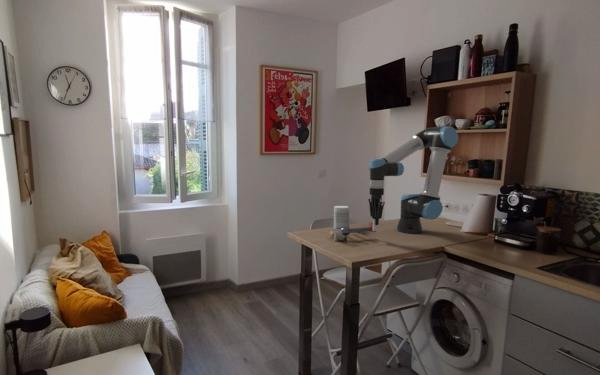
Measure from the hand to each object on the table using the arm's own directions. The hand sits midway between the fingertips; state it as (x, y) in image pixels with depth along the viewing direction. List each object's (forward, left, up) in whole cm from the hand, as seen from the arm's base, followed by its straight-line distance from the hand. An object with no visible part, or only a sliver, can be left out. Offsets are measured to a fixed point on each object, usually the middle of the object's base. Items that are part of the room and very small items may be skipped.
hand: (375, 230), depth 190 cm
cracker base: (+11, -5, -6) cm, 13 cm away
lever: (+10, -5, -5) cm, 12 cm away
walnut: (+18, -13, -5) cm, 23 cm away
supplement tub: (-1, -31, -7) cm, 32 cm away
